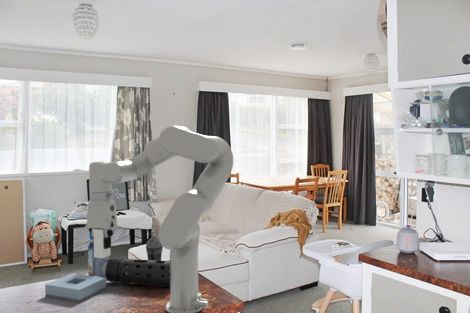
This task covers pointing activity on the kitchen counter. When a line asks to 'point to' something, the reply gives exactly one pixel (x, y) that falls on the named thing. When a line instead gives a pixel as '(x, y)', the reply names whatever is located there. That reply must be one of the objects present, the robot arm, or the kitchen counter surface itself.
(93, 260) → the beverage bottle
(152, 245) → the beverage cup
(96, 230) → the white square peg
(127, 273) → the muzzle brake
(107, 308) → the kitchen counter surface
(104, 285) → the socket plate
